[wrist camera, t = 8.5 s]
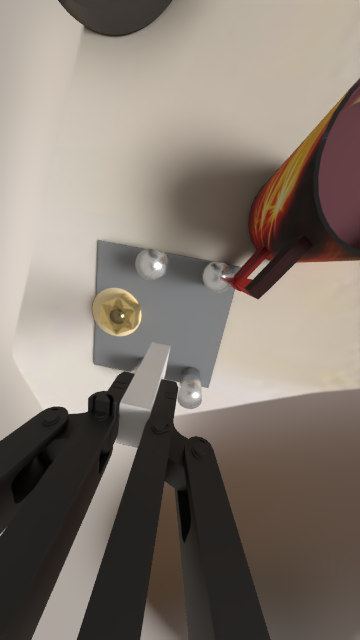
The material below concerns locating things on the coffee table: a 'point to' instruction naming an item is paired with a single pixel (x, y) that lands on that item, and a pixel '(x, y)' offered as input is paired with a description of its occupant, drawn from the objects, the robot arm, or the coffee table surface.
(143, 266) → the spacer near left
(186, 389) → the spacer far right
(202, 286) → the mat
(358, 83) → the mug
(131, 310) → the nut
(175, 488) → the robot arm
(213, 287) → the spacer near right
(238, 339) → the coffee table surface
